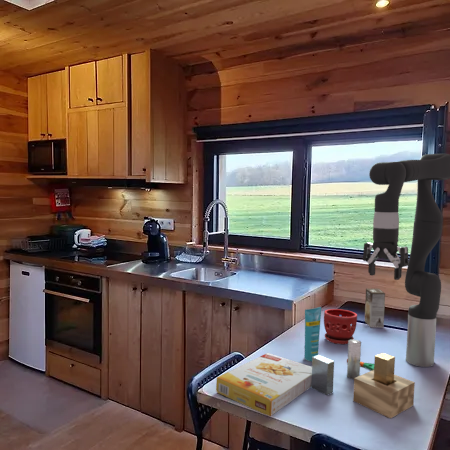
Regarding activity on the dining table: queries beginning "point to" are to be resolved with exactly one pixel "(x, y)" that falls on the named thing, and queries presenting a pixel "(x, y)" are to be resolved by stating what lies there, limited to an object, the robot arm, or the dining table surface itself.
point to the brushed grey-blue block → (322, 374)
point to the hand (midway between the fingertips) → (384, 277)
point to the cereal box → (265, 383)
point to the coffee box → (374, 307)
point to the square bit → (384, 369)
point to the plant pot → (339, 325)
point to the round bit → (353, 359)
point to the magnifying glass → (366, 365)
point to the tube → (312, 332)
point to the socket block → (384, 394)
